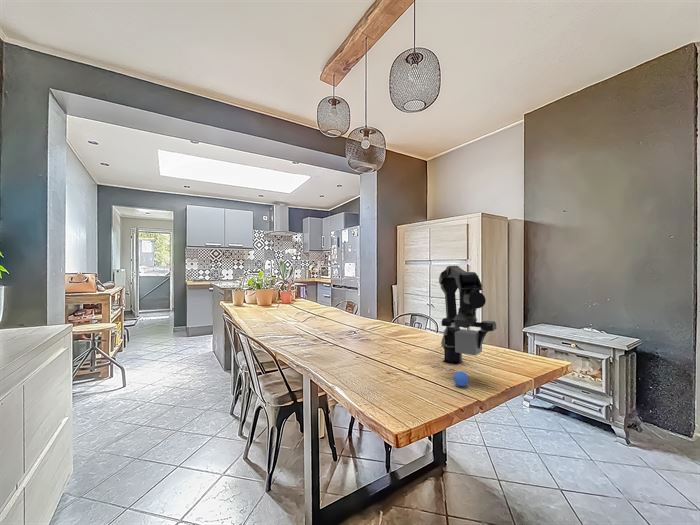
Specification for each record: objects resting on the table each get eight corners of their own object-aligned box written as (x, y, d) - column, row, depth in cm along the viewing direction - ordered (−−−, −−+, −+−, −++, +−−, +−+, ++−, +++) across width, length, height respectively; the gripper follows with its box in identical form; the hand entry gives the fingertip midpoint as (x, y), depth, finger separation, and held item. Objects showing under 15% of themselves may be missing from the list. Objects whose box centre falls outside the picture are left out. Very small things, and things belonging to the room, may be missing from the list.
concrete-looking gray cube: (455, 352, 114) (454, 331, 114) (462, 348, 119) (461, 329, 120) (475, 355, 109) (475, 334, 109) (482, 351, 115) (481, 331, 115)
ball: (455, 367, 110) (456, 380, 111) (451, 374, 106) (452, 387, 107) (469, 370, 107) (471, 383, 108) (465, 377, 103) (467, 390, 104)
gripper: (435, 305, 114) (436, 347, 114) (487, 309, 102) (488, 355, 102) (446, 303, 123) (447, 341, 122) (496, 306, 111) (497, 348, 111)
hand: (468, 346), depth 114 cm, fingers closed on concrete-looking gray cube, 7 cm apart
